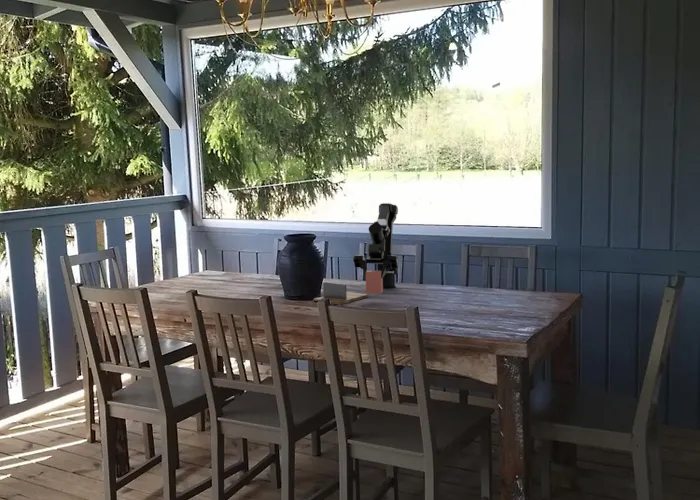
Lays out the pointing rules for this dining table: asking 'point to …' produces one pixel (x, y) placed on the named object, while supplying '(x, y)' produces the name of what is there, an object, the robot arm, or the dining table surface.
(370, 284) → the salmon pink block
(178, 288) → the dining table surface
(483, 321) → the dining table surface
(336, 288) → the bookend
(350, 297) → the shelf board
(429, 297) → the dining table surface
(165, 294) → the dining table surface
